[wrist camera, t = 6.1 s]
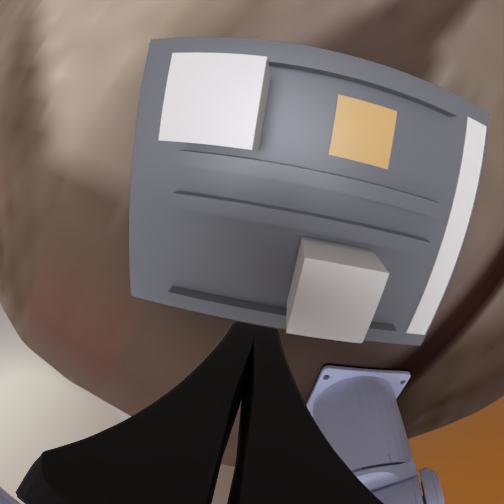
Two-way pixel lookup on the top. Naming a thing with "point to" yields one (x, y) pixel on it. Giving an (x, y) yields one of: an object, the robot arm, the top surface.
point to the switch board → (306, 188)
